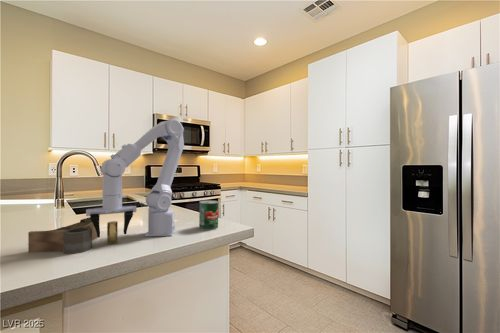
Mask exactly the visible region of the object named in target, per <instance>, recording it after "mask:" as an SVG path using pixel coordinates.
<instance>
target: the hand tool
mask: <svg viewBox="0 0 500 333" xmlns="http://www.w3.org/2000/svg"><path fill="white" fill-rule="evenodd" d="M91 222H92V221H91V219H90V216H88V217H86V218H82V219H80V220H79V222H76V223H72V224H69V225H66V226H61V227H59V228H55V229H51V230H48V231H55V230H68V229H72V228H79V227H84V226H86V225H88V224H89V223H91Z"/></svg>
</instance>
